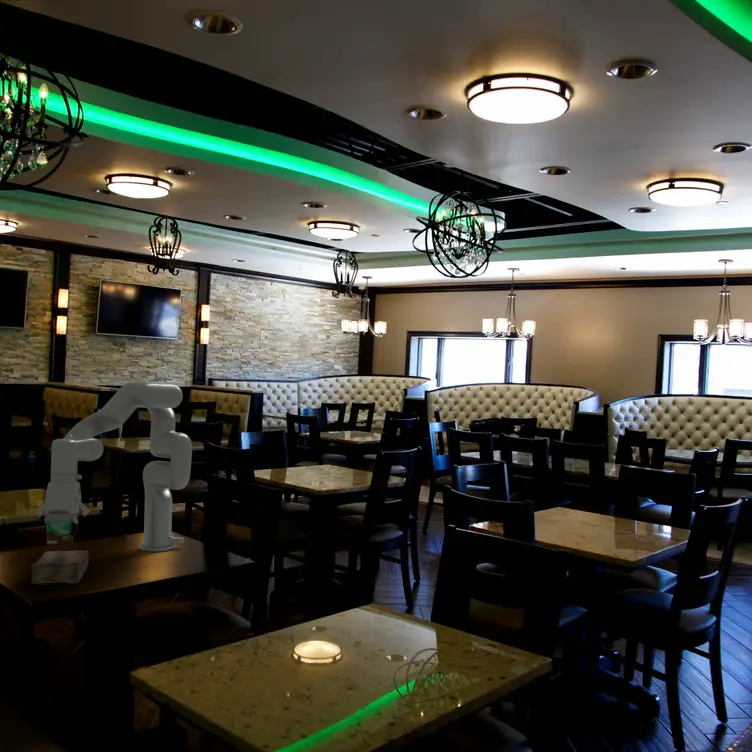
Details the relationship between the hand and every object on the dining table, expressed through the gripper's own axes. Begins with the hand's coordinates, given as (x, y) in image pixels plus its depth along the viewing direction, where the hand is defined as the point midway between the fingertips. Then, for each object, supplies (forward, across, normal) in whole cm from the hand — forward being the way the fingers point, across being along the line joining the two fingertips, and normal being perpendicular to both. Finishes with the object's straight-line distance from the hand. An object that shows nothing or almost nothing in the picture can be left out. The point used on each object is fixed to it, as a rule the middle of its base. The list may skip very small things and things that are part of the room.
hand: (61, 535), depth 228 cm
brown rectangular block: (+12, 0, 0) cm, 12 cm away
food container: (+3, -1, 0) cm, 3 cm away
